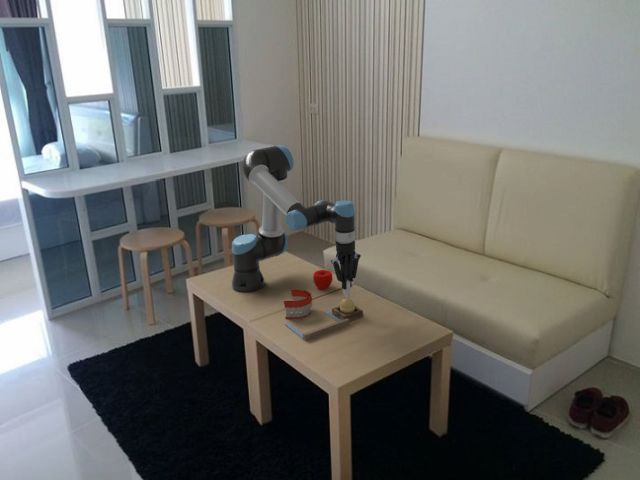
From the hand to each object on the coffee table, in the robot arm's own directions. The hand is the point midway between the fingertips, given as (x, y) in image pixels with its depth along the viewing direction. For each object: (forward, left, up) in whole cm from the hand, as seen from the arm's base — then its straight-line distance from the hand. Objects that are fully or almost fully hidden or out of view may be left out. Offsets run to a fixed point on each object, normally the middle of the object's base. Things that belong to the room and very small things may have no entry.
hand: (347, 295), depth 230 cm
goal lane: (-2, -14, -9) cm, 17 cm away
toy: (-14, -14, -10) cm, 22 cm away
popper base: (0, 0, -9) cm, 9 cm away
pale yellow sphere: (0, 0, -7) cm, 7 cm away
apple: (-29, +7, -10) cm, 31 cm away
